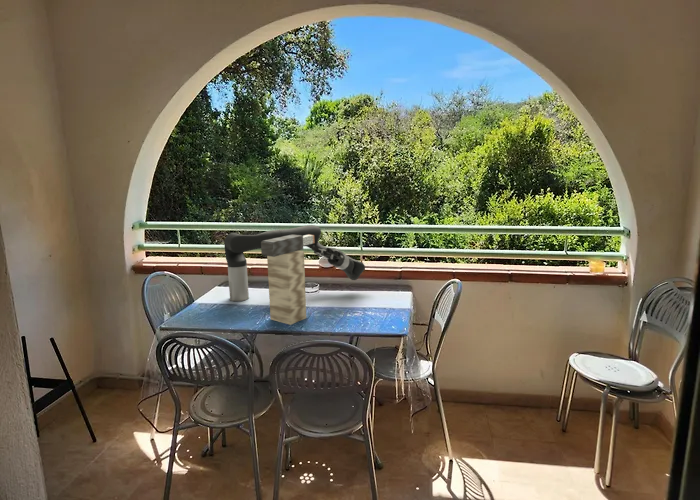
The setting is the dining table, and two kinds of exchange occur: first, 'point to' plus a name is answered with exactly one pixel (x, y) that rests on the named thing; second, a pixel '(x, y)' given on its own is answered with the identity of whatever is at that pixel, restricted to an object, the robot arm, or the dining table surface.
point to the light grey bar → (308, 239)
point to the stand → (286, 278)
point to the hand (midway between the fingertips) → (319, 248)
